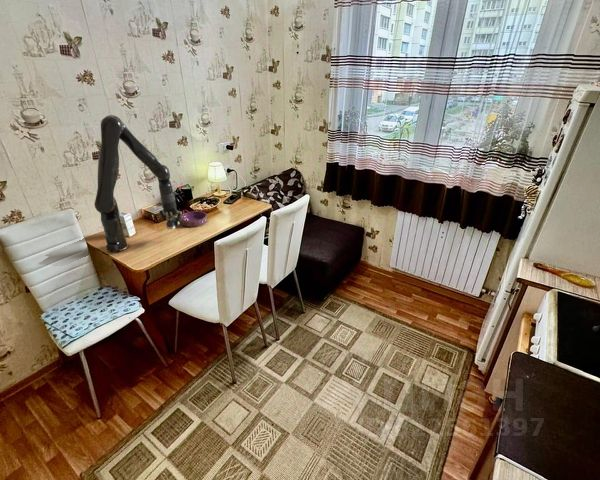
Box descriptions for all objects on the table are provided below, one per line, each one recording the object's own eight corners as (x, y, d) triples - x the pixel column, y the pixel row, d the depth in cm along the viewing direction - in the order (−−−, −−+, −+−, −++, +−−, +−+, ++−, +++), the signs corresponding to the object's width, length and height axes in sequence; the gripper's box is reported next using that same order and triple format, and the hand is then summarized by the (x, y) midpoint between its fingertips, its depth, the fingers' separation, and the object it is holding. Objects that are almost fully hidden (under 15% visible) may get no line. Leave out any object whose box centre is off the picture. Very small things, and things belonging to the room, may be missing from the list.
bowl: (201, 228, 206) (200, 222, 204) (177, 226, 208) (176, 220, 206) (211, 217, 221) (210, 212, 219) (188, 216, 223) (187, 210, 221)
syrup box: (136, 233, 198) (130, 212, 191) (129, 237, 193) (123, 216, 186) (129, 231, 199) (123, 211, 193) (122, 235, 194) (115, 215, 188)
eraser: (173, 229, 183) (171, 223, 181) (167, 229, 183) (166, 223, 181) (179, 223, 190) (178, 218, 188) (174, 223, 190) (172, 217, 188)
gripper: (153, 201, 176) (159, 228, 184) (176, 203, 174) (181, 229, 183) (160, 197, 182) (165, 222, 191) (182, 198, 181) (187, 224, 189)
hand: (173, 226), depth 187 cm, fingers closed on eraser, 3 cm apart
